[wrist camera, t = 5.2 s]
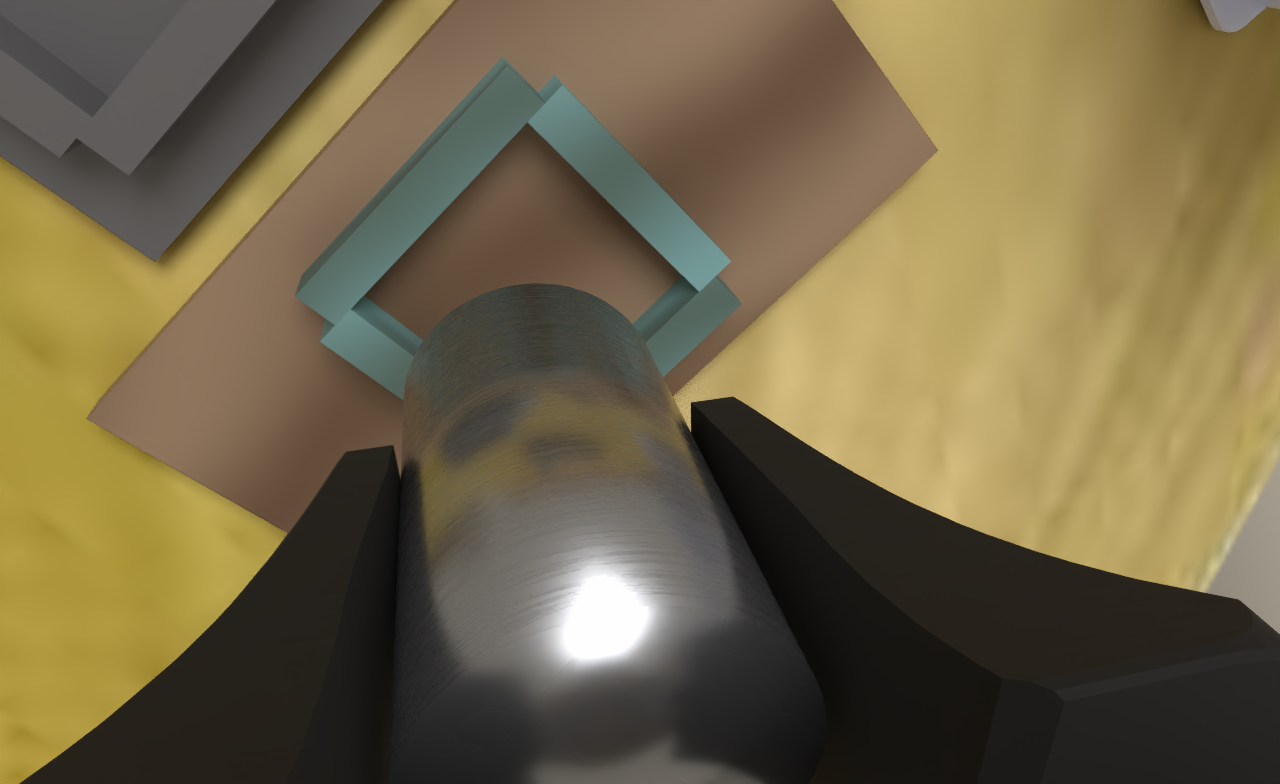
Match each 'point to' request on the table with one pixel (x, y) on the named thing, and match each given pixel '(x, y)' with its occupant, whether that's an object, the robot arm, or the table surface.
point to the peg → (577, 570)
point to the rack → (521, 218)
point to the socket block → (154, 97)
